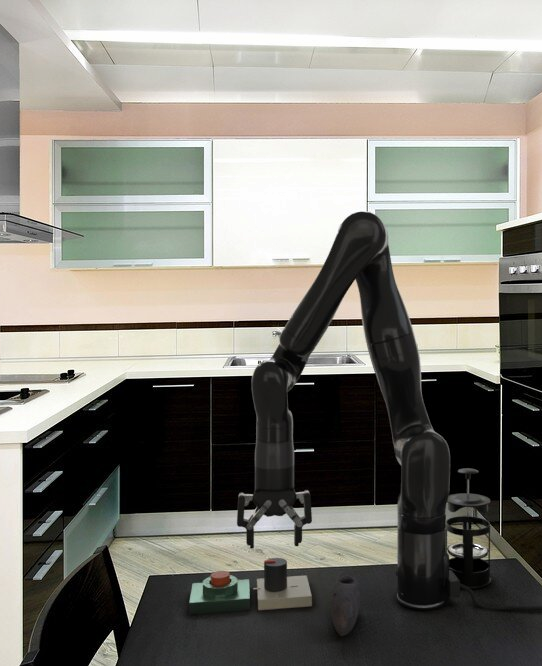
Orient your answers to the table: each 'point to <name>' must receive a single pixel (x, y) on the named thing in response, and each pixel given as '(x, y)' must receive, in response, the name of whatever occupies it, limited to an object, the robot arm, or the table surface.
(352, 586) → the perforated stone tool
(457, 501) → the french press
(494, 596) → the table surface
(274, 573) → the dial
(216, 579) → the button
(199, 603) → the button box
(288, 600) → the control panel
